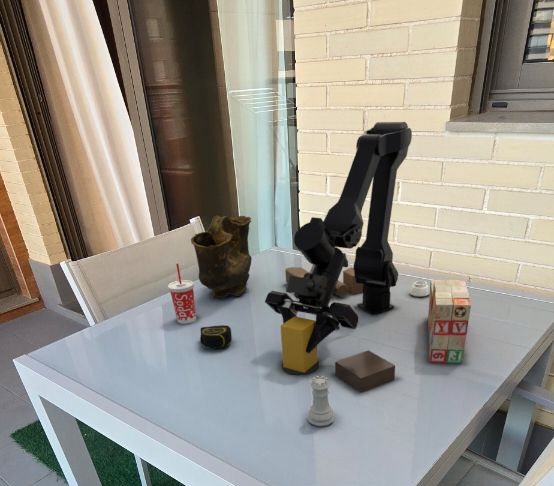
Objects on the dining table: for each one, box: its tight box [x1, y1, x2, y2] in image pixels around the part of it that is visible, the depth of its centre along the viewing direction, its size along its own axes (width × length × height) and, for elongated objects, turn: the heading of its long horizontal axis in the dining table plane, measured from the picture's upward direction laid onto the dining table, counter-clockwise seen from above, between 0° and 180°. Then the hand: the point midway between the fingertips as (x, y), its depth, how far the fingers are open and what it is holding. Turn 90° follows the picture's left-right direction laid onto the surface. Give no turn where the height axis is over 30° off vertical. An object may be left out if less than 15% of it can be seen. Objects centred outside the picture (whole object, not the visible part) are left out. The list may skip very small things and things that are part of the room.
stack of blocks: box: [427, 279, 472, 364], centre depth 110 cm, size 21×6×12 cm, turn 168°
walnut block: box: [334, 349, 396, 393], centre depth 102 cm, size 8×8×3 cm
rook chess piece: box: [307, 375, 335, 427], centre depth 89 cm, size 4×4×8 cm
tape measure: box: [199, 324, 233, 349], centre depth 118 cm, size 7×7×4 cm
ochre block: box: [280, 316, 318, 373], centre depth 106 cm, size 5×5×9 cm
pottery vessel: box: [190, 215, 252, 299], centre depth 141 cm, size 25×11×20 cm, turn 162°
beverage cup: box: [167, 262, 197, 325], centre depth 128 cm, size 6×6×14 cm
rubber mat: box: [281, 360, 320, 376], centre depth 108 cm, size 8×8×1 cm
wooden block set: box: [284, 266, 363, 298], centre depth 143 cm, size 17×6×18 cm
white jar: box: [409, 280, 430, 298], centre depth 135 cm, size 5×3×5 cm
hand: (295, 349), depth 105 cm, fingers closed on ochre block, 5 cm apart
